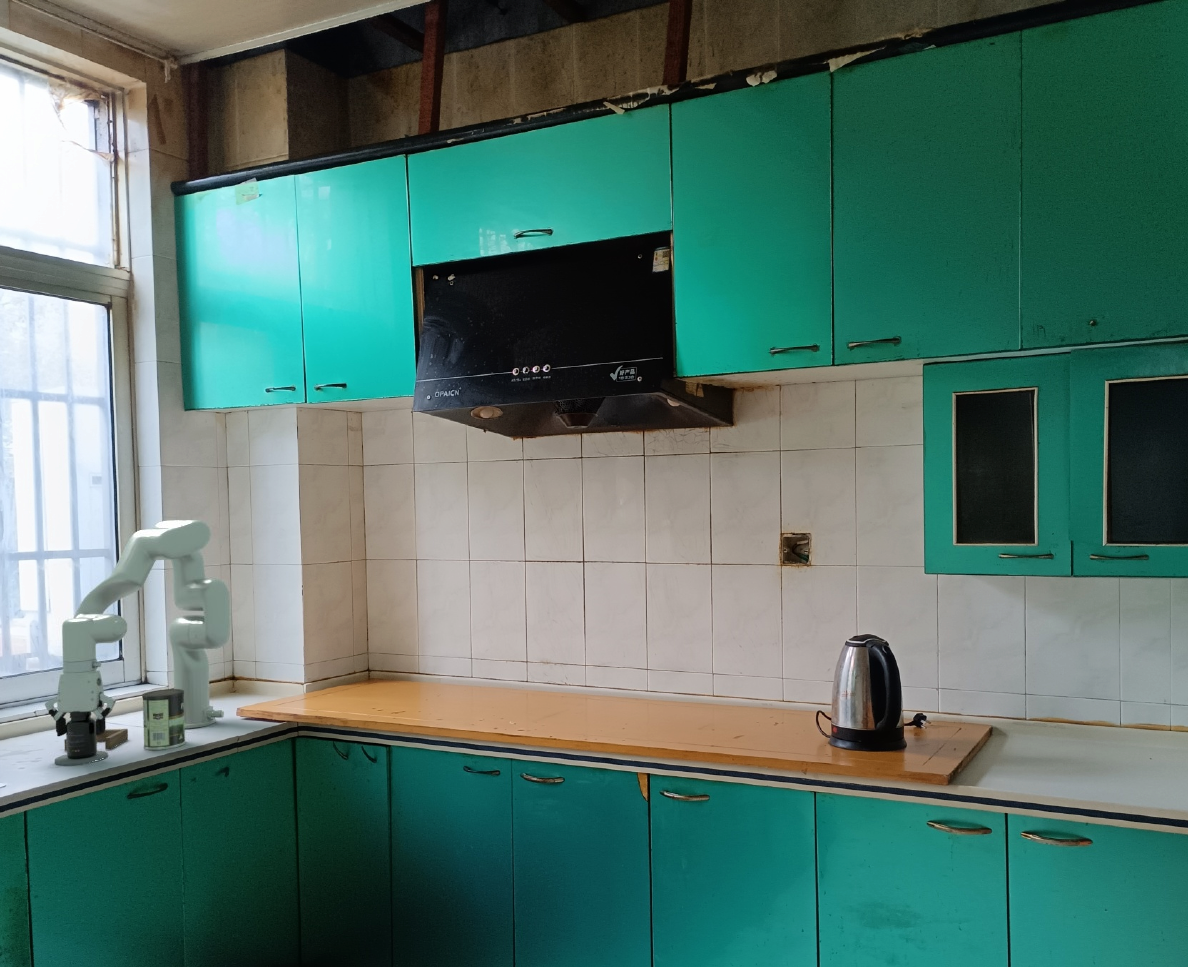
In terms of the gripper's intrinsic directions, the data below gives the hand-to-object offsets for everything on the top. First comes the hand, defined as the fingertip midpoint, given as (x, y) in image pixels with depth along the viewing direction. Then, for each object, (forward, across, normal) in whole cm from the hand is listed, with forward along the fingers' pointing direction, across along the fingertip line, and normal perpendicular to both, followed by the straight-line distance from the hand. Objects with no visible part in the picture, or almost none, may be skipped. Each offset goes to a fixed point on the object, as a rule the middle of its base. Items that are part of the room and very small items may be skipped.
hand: (80, 734), depth 254 cm
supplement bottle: (+6, 0, 0) cm, 6 cm away
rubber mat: (+6, 0, 0) cm, 6 cm away
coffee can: (+6, -16, -12) cm, 21 cm away
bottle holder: (+6, +3, -14) cm, 16 cm away
